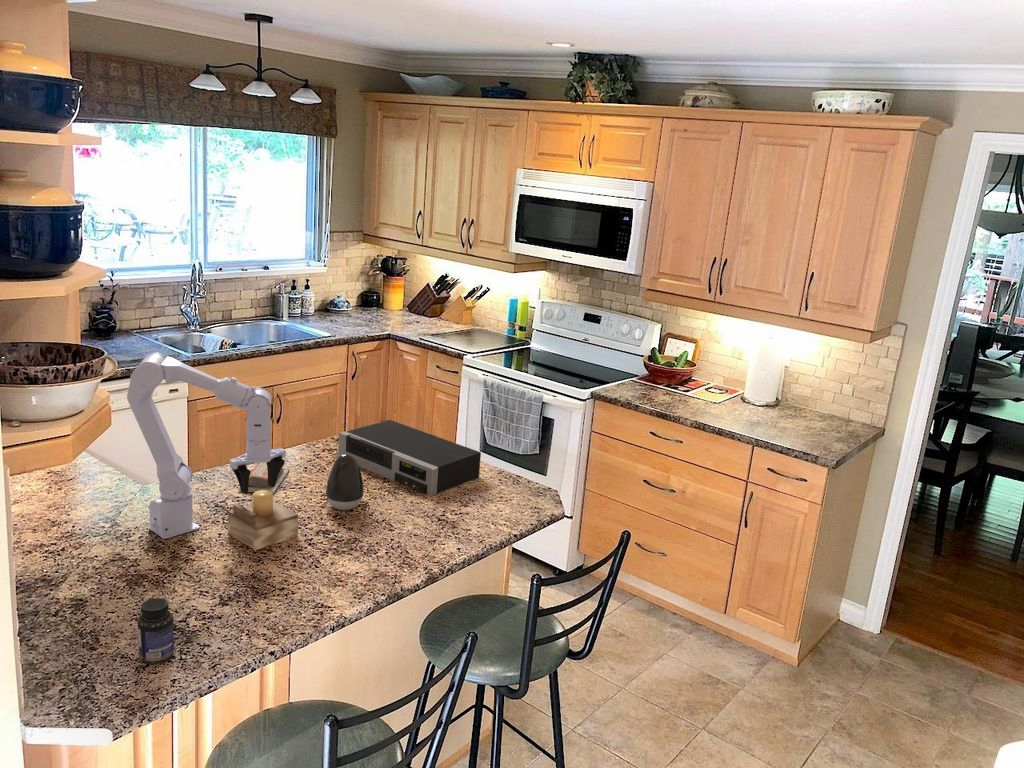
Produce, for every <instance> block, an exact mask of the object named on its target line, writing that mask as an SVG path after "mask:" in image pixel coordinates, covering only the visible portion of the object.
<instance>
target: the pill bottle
mask: <svg viewBox="0 0 1024 768" xmlns="http://www.w3.org/2000/svg"><path fill="white" fill-rule="evenodd" d="M169 608H170V607H169V601H168V600H167V599H166V598H164V597H163V598H162V597H154V598H149V599H146V600H144V601H143V602H142V603H141V606H140V612H141V614H140V615H139V617H138V618H137V641H138V643H137V644H138V658H139V660H140V661H141V662H142V663H144V664H147V665H159V664H163V663H166V662H168V661H169V660H171V659H172V658H173V657H174V655H175V640H174V639H175V638H174V637H175V636H174V635H175V634H174V633H175V632H174V616H173V614H172V612H171V611H170V610H169Z"/></svg>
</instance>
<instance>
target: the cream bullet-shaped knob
mask: <svg viewBox="0 0 1024 768" xmlns="http://www.w3.org/2000/svg"><path fill="white" fill-rule="evenodd" d="M273 501H274V494H273V493H272V492H271V491H268V490H260V491H256V492H254V493H252V504H253V513H255V514H256V516H258V517H266V516H270V515H271V514H272V513H273Z"/></svg>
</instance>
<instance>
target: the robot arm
mask: <svg viewBox="0 0 1024 768" xmlns="http://www.w3.org/2000/svg"><path fill="white" fill-rule="evenodd" d="M163 380H164V381H165V382H164V385H169V384H173V383H177V382H181V383H186V384H188V385H191V386H195V387H197V388H200V389H203V390H206V391H209V392H212V393H213V394H214V396H215V398H216V400H219V401H220V402H223V403H226V404H228V405H231V406H234V407H236V408H238V409H241V410H245V412H246V414H247V420H246V438H245V439H246V440H245V441H246V445H245V447H246V452H245V453H244V454H241V455H240V456H238V457H234V458H231V459H229V468H230V469H232V471H233V473H234V475H235V477H236V479H237V482H238V485H239V486H240V489H241V492H240V493H242V494H243V495H248V494H249V492H248V483H249V476H250V473H251V471H252V470H250V469H248V466H250V465H254V464H258V463H259V462H263V463H267V470H268V485H270V486H271V487H275V484H276V480H277V477H278V475H279V472H280V470H281V469H282V468H284V465H285V462H286V461H285V459H284V458H286V456H287V451H286V449H284V448H282V447H280V448H275V449H274V448H272V449H271V443H272V442H271V441H272V440H271V439H272V438H271V436H272V432H271V431H272V426H271V425H272V420H271V416H272V415H271V409H272V406H271V405H272V400H273V399H272V395H271V393H270V392H269V391H268V390H266V389H265V388H263V387H256V386H254V385H252V386H249V385H247V384H244V383H242V382H240V381H238V378H237V377H234V376H232V377H231V378H229V377H224V378H220V379H218V378H217V377H214V376H212V375H210V374H209V373H208V374H207V373H206V372H203V371H202V370H199V369H196V368H194V367H192V366H190V365H188V364H186V363H184V362H181V361H180V360H178V359H176V358H174V357H172V356H165V355H164V354H162V353H160V352H151V353H149V354H147V355H145V356H144V358H143V359H142V361H141V362H140V363H139V364H138V365H137V366H136V367H135V369H134V370H133V371H132V373H130V380H129V385H128V391H127V394H126V399H127V402H128V404H129V407H130V408H131V411H132V413H133V415H134V418H135V420H136V422H137V425H138V427H139V429H140V431H141V434H142V436H143V438H144V440H145V442H146V444H147V446H148V448H149V451H150V453H151V456H152V458H153V460H154V462H155V464H156V475H157V478H158V481H159V487H158V490H159V493H160V495H159V496H158V497H157V498H155V499H153V500H151V501H150V503H149V526H148V529H149V530H150V531H151V532H154V534H156V535H158V536H159V537H160V538H161V539H165V540H166V539H169V538H173V537H177V536H180V535H182V534H186V533H189V532H192V531H193V532H194V531H196V530H199V529H200V528H201V527H200V525H199V524H198V523H197V524H196V523H195V522H194V521H193V490H192V489H191V487H190V483H191V481H192V479H193V476H194V475H193V471H192V469H191V467H190V466H189V465H187V464H186V462H184V460H183V458H182V456H180V455H179V454H178V453H177V451H176V449H175V447H174V445H173V443H172V439H171V438H170V435H169V433H168V430H167V429H166V426H165V424H164V422H163V420H162V417H161V415H160V413H159V410H158V407H157V405H156V403H155V401H154V399H153V394H154V392H155V390H156V388H157V387H159V385H161V384H162V382H163Z"/></svg>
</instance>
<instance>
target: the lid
mask: <svg viewBox="0 0 1024 768" xmlns="http://www.w3.org/2000/svg"><path fill="white" fill-rule="evenodd" d="M232 507H233V509H231V510H227V515H228V514H229V515H230V516H232V517H234V518H235V519H237V520H239V521H240V522H242V523H243V524H245V525H247V526H248V527H250V528H252V529H253V530H255V531H257V530H260V529H263V528H266V527H269V526H272V525H276V524H279V523H282V522H285V521H288V520H291V519H295V518H298V519H299V514H298V513H296V512H294V511H293V510H290V509H289V508H287V507H286V506H284V505H282V504H280V503H278V502H276V501H275V500H273V513H272V514H271V515H270V516H266V517H258V516H256V514H255V513H253V503H251V504H248V505H244V506H243V505H241V504H239V503H234V504H233V505H232Z"/></svg>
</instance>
